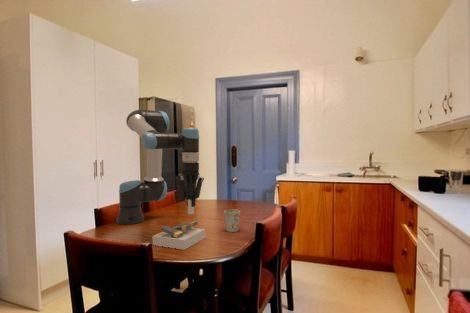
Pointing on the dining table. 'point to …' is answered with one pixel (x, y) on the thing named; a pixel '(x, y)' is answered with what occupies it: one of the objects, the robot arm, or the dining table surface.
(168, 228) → the rocker
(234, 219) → the mug
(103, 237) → the dining table surface
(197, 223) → the rocker
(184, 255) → the dining table surface
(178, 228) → the rocker
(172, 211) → the dining table surface
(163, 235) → the switch unit
